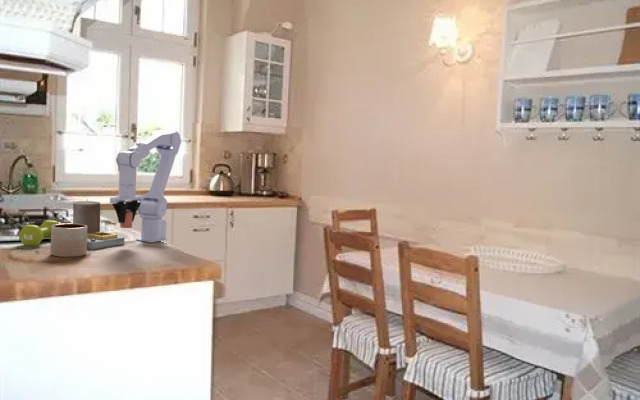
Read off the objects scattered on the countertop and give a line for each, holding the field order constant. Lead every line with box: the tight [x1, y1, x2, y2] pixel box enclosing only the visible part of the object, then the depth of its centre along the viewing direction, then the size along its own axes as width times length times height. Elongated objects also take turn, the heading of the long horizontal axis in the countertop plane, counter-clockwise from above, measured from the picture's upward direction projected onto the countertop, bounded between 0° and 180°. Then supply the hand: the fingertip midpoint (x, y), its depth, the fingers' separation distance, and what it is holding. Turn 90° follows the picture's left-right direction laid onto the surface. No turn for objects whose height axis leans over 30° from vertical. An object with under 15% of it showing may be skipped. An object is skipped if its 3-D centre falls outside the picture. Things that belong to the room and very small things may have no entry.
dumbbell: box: [18, 219, 60, 247], centre depth 196 cm, size 16×8×7 cm, turn 177°
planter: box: [50, 222, 88, 258], centre depth 179 cm, size 11×11×10 cm
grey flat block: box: [87, 231, 125, 251], centre depth 197 cm, size 18×11×4 cm, turn 156°
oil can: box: [120, 209, 133, 229], centre depth 198 cm, size 4×4×6 cm
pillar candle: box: [72, 199, 101, 234], centre depth 210 cm, size 10×10×15 cm
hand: (126, 222), depth 198 cm, fingers closed on oil can, 4 cm apart
